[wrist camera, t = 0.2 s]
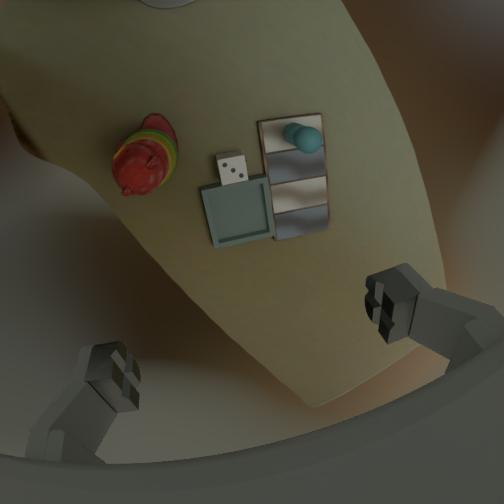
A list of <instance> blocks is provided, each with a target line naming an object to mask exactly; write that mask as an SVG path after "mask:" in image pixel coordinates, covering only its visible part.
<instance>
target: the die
mask: <svg viewBox="0 0 504 504" xmlns="http://www.w3.org/2000/svg"><path fill="white" fill-rule="evenodd" d="M215 156H216V161H217V166H218V171H219V176H220V180H221V183H222V186H223V185H227V184H232V183H237V182H242V181H246V180H248V175H247V169H246V163H245V157H244V154H243V153H242V152H241V150H238V151H233V152H228V153H223V154H218V155H215Z"/></svg>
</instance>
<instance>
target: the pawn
mask: <svg viewBox="0 0 504 504" xmlns="http://www.w3.org/2000/svg"><path fill="white" fill-rule="evenodd" d="M283 137H284V139H285V140H286V141H287V142H288V143H290V144H291V145H293V146H295V147H297V148H298V149H299V150H300V151H301V152H303V153H307V154H311V153H314V152H316V151H318V150H319V149H320V147H321V145H322V136H321V134H320V132H319V131H318V130H317V129H316V128H314V127H310V126H304V125H301V124H298V123H289V124H288V125H286V126H285V128H284V130H283Z"/></svg>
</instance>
